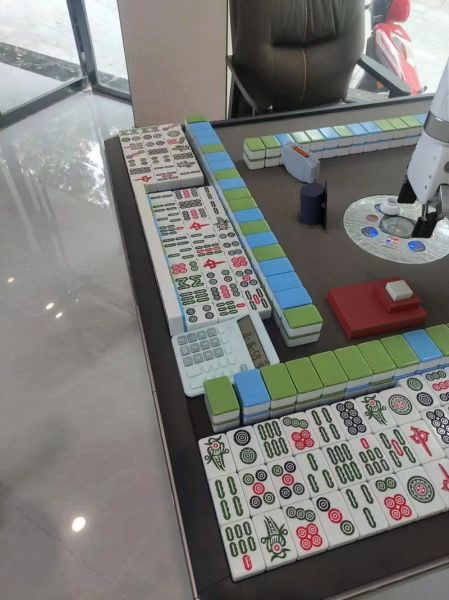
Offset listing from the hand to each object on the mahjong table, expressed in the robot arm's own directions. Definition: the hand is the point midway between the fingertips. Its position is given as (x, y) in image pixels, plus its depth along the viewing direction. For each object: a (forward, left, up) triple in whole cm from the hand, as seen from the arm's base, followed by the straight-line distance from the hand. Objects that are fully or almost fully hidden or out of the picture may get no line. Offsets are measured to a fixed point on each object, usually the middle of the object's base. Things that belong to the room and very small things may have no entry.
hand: (412, 219), depth 76 cm
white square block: (0, +4, -15) cm, 16 cm away
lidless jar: (-16, -26, -20) cm, 37 cm away
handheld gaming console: (+1, -47, -20) cm, 51 cm away
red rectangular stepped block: (+4, +4, -20) cm, 20 cm away
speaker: (+5, -27, -20) cm, 34 cm away
